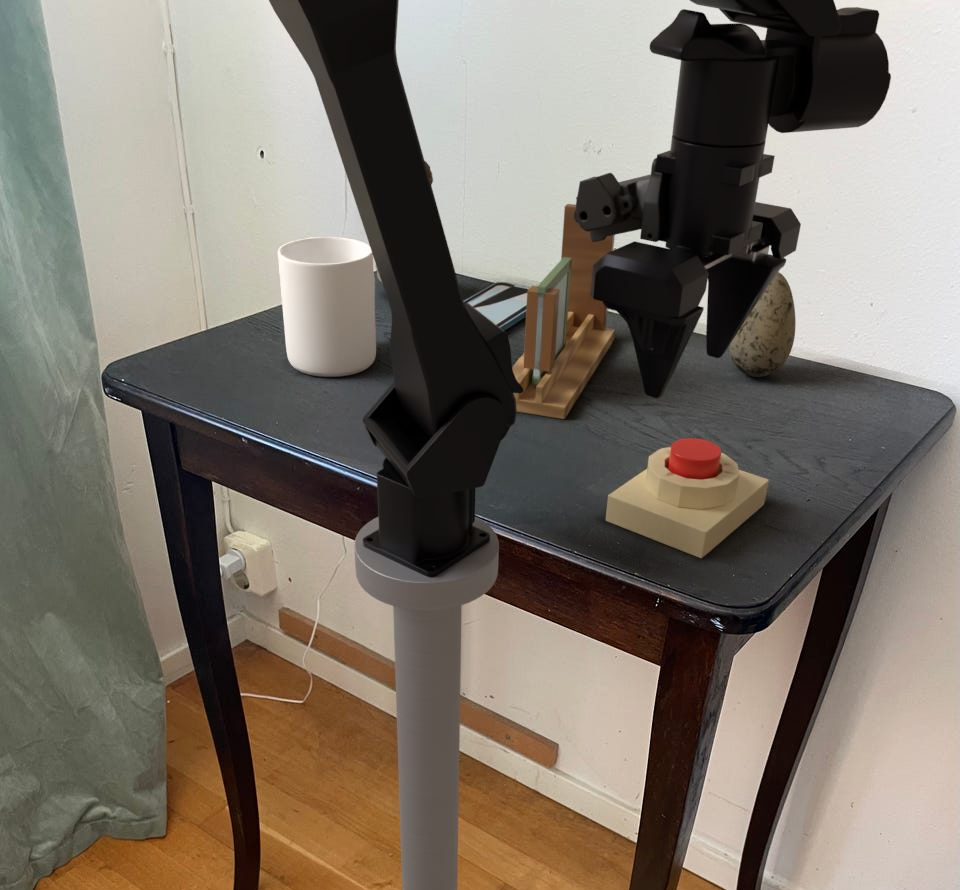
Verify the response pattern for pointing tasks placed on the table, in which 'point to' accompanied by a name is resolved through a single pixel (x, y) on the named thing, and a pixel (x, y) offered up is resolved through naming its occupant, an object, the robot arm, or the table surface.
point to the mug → (328, 305)
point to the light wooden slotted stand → (571, 331)
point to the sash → (547, 320)
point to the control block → (686, 504)
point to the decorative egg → (766, 332)
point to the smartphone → (501, 303)
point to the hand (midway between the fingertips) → (684, 375)
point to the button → (694, 458)
